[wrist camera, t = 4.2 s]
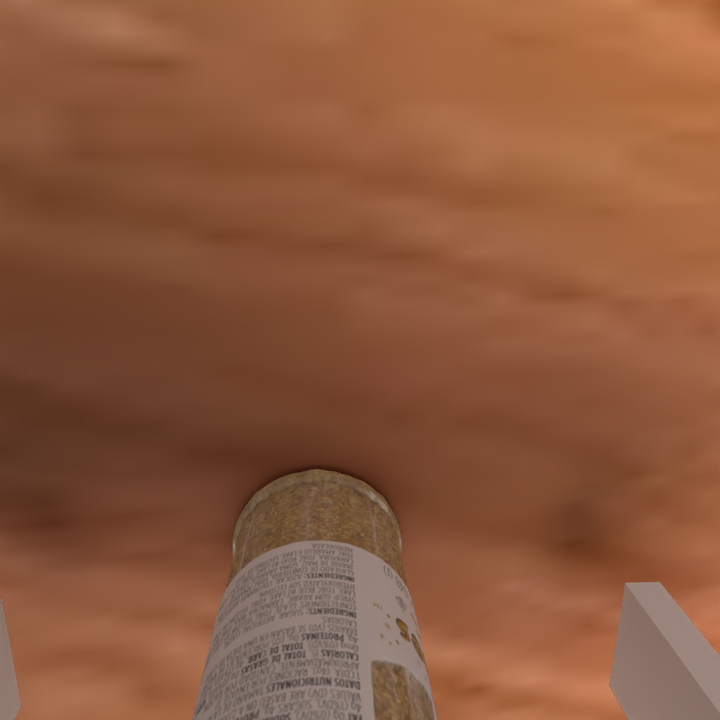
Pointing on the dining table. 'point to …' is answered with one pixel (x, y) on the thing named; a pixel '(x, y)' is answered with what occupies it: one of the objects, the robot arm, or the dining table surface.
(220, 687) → the sprinkles bottle
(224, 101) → the dining table surface
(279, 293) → the dining table surface
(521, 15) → the dining table surface
